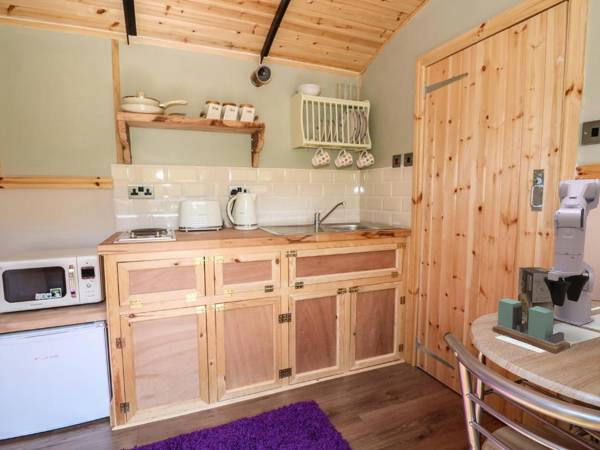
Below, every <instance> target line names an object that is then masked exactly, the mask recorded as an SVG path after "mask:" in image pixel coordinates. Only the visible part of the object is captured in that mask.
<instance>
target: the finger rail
mask: <svg viewBox="0 0 600 450" xmlns="http://www.w3.org/2000/svg"><path fill="white" fill-rule="evenodd" d="M522 308H523V306H522V305H521V302H520V301H518V300H515V299H511V298H508V297H507V298H503V299H499V300H498V308H497V324H496V325H495V326H493V327H492V331H493V332H494V333H496V334H497V333H498V334H499V335H503V336H506V337H508V338H512V339H514V340H517V341H519V342H522V343H525V344H528V345H531V346H533V347H535V348H536V347H537V348H539V349H542V350H544V351H546V352H550V353H552V354H558V353H560V352H562V351H564V350H568V349H569V348H571V342H570V341H567V339H565V333H564V332H562V331H557V332H555V333H553V334H552V335H550V336H549V338H547V339H541V338H538V337H535V336H532V335H529V334H528V330H527V322H526V321H524V322H523V319H522Z"/></svg>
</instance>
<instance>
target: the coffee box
mask: <svg viewBox="0 0 600 450" xmlns="http://www.w3.org/2000/svg"><path fill="white" fill-rule="evenodd" d="M550 271H551V270H549V269H546V268H542V267H537V266H535V267H534V266H533V267H532V266H531V267H530V266H528V267H526V266H525V267H518V285H517V286H518V287H517V290H518V291H517V301H520V302H521V305H522V306H523V308H522V321H524V322H527V311H529V308H533V307H536V306H539V307H543V308H547V309H551V310H554V311H555V305H553V303H552V299H551V295H550V292H549V289H548V287H547V285H546V283H545V282H544V278H545V277H548V272H550ZM554 321H555V320H554ZM554 321H553V326H554V324H555V323H554Z"/></svg>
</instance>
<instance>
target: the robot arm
mask: <svg viewBox="0 0 600 450" xmlns="http://www.w3.org/2000/svg"><path fill="white" fill-rule="evenodd" d="M558 199H559V208H558V209H557V210H556V209H555V210H554V212H553V229H554V230H553V231H554V232H553V234H554V237H555V240H554V256H553V257H554V258H553V266H549V268H548V271H550V272H548V277H545V278H544V282H545V283H546V285H547V287H548V289H549V292H550V295H551V299H552V303H553V305H554V306H556V309H555V310H556V311H555V312H556V313H554V320H557V321H561V322H563V323H567V324H570V325H574V326H583V325H585V324H587V323H590V322H594V321H595V318H594V317H592V305H593V304H592V303H593V301H592V300H593V299H592V297H591V295H590V294H591V293H593V292H594V284H595V270H594V267H593V266H592V265H591V264H589V263H588V262H587V261H584V256H585V255H584V254H585V243H586V231H587V220H588V216H589V213H590V212H591V210H594V209H596V208H598V205H599V204H600V178H593V179H592V178H591V179H589V178H587V179H585V178H584V179H561V180H560V181H559V184H558Z"/></svg>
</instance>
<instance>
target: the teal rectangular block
mask: <svg viewBox="0 0 600 450" xmlns="http://www.w3.org/2000/svg"><path fill="white" fill-rule="evenodd" d="M554 315H555V309H554V310H551V309H547V308H543V307H539V306H536V307H533V308H529V311H527V330H528V334H529V335H532V336H535V337H538V338H541V339H547V338H549V336H550V335H552V334H554V325H553V321H555V319H554Z"/></svg>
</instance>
